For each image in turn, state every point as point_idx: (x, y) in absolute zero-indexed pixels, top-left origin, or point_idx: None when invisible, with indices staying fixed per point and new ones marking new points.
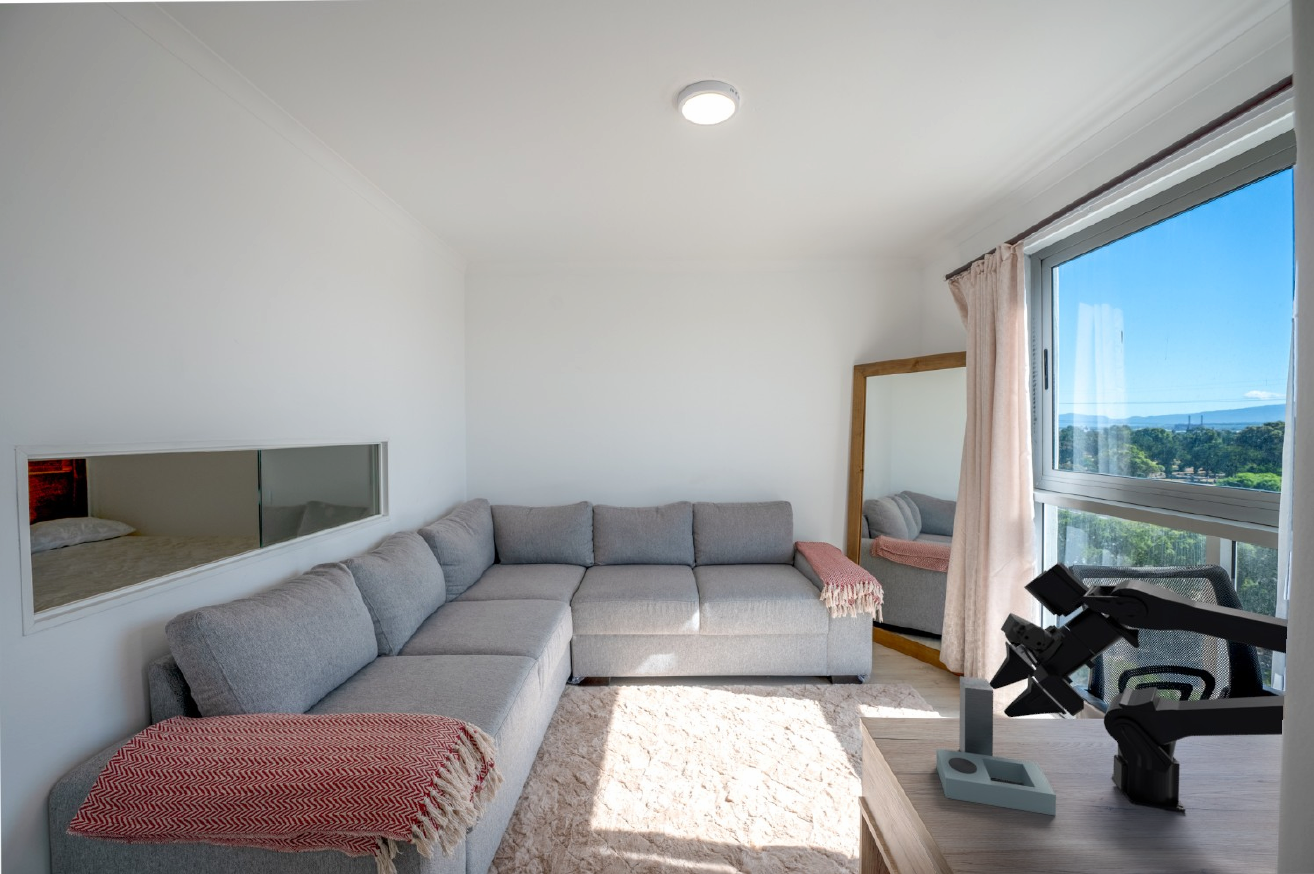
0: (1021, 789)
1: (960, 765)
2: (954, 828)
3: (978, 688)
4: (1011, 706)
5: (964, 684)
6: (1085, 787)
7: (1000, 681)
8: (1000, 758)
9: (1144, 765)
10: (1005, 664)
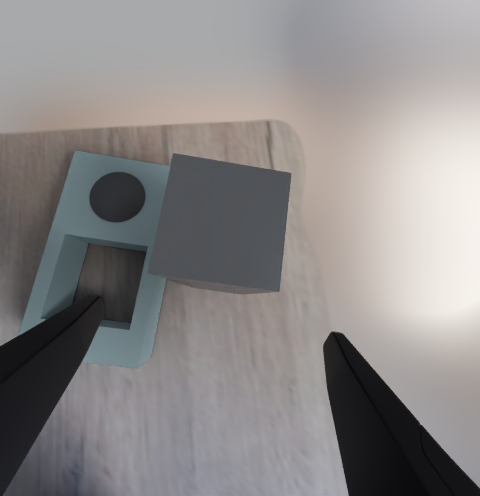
0: (34, 284)
1: (116, 191)
2: (23, 161)
3: (166, 208)
4: (49, 319)
5: (204, 161)
6: (143, 456)
7: (338, 382)
8: (150, 287)
9: None
10: (415, 469)
